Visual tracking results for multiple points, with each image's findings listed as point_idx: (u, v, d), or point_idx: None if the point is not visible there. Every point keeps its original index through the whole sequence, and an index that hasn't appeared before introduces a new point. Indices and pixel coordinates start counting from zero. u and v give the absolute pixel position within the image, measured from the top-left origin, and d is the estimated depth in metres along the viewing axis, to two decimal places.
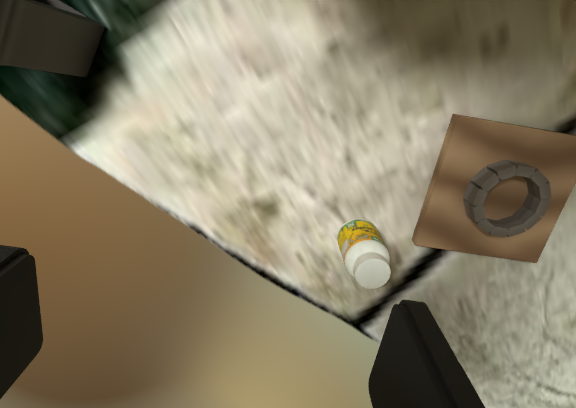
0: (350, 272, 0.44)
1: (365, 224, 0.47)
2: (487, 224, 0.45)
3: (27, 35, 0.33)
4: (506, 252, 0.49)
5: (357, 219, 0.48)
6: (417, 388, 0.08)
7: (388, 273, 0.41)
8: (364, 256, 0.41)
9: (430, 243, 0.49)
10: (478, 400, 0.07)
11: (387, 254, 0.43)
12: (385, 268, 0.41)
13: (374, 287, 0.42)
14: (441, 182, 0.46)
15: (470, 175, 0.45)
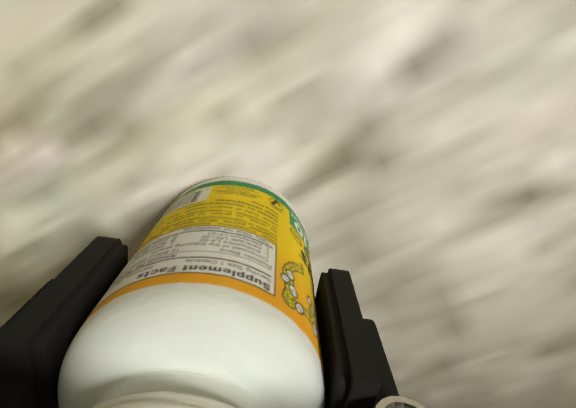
0: (105, 343, 0.06)
1: None
2: None
3: None
4: None
5: None
6: (326, 342, 0.08)
7: None
8: None
9: None
10: (369, 347, 0.08)
11: None
12: None
13: None
14: None
15: None
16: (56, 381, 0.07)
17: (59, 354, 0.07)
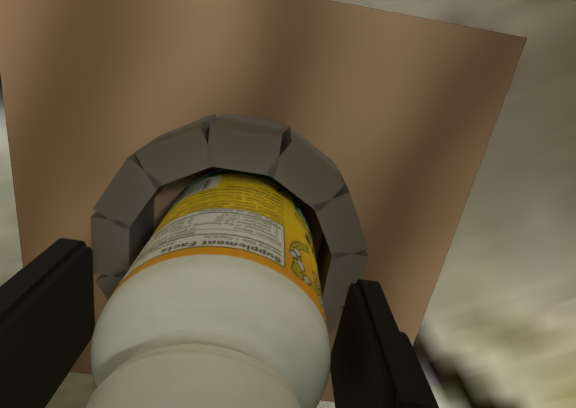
0: (137, 306, 0.07)
1: None
2: (133, 200, 0.11)
3: None
4: None
5: None
6: (362, 357, 0.08)
7: None
8: None
9: (11, 10, 0.12)
10: (411, 364, 0.07)
11: None
12: None
13: None
14: (280, 14, 0.12)
15: (306, 122, 0.13)
16: (2, 391, 0.07)
17: (5, 363, 0.07)
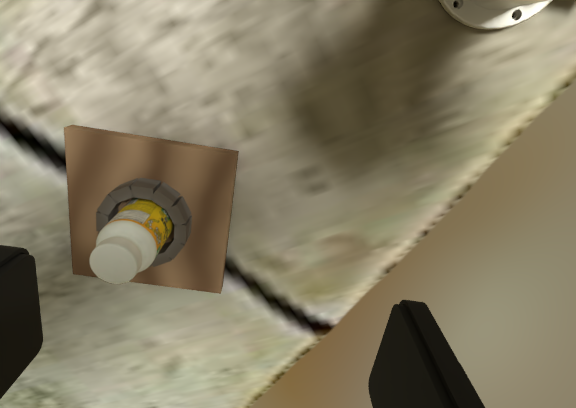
0: (106, 231, 0.33)
1: (169, 230, 0.38)
2: (109, 207, 0.37)
3: None
4: (79, 239, 0.41)
5: None
6: (417, 388, 0.08)
7: (117, 281, 0.32)
8: (136, 250, 0.32)
9: (70, 147, 0.37)
10: (478, 400, 0.07)
11: (140, 270, 0.34)
12: (123, 277, 0.32)
13: (93, 268, 0.31)
14: (155, 148, 0.37)
15: (169, 180, 0.39)
16: None
17: None
